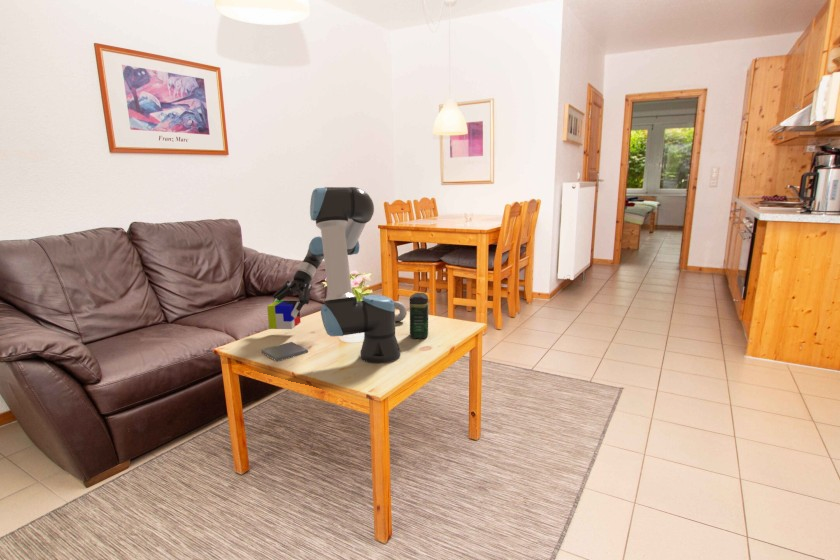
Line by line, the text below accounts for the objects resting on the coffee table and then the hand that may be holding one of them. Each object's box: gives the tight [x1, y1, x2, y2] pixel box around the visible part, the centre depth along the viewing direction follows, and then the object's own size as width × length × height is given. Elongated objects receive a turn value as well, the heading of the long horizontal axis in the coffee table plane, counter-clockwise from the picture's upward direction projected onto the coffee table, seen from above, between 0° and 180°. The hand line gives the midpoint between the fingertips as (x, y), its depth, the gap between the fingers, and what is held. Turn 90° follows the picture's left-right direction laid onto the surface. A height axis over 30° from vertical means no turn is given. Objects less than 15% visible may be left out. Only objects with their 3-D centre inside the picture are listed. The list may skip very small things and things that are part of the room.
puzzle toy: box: [266, 300, 302, 330], centre depth 196 cm, size 10×10×10 cm
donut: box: [393, 300, 408, 322], centre depth 216 cm, size 10×4×10 cm, turn 71°
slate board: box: [260, 341, 309, 362], centre depth 178 cm, size 13×13×1 cm
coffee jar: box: [409, 292, 429, 339], centre depth 194 cm, size 10×8×19 cm
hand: (281, 314), depth 195 cm, fingers closed on puzzle toy, 13 cm apart
